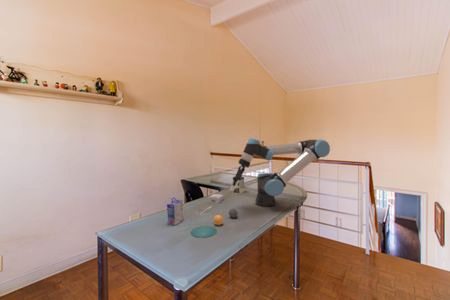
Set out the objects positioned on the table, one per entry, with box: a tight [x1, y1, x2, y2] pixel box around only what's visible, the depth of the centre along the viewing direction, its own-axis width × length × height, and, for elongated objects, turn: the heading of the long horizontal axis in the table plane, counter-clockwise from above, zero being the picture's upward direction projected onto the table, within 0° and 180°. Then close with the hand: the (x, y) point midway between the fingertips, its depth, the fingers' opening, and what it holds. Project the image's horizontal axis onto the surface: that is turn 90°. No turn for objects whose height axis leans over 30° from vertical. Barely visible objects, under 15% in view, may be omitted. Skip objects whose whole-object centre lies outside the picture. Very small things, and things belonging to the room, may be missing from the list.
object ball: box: [213, 214, 224, 226], centre depth 127 cm, size 6×6×6 cm
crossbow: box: [195, 205, 213, 216], centre depth 151 cm, size 16×13×2 cm
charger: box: [207, 193, 225, 204], centre depth 176 cm, size 5×9×15 cm
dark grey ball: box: [228, 208, 239, 219], centre depth 138 cm, size 6×6×6 cm
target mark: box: [190, 225, 218, 239], centre depth 118 cm, size 14×14×1 cm
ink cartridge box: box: [166, 197, 184, 226], centre depth 132 cm, size 10×6×14 cm, turn 161°
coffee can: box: [232, 176, 245, 195], centre depth 198 cm, size 10×10×14 cm
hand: (232, 189), depth 147 cm, fingers open, 13 cm apart
